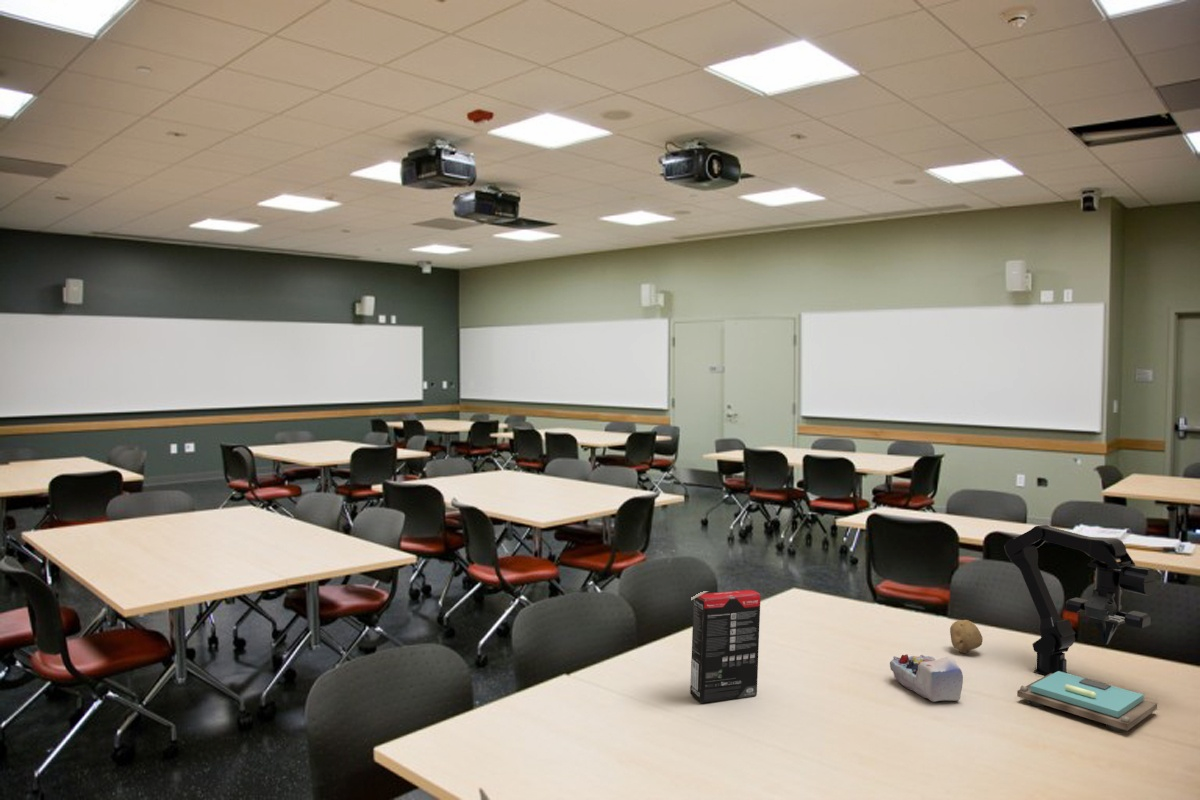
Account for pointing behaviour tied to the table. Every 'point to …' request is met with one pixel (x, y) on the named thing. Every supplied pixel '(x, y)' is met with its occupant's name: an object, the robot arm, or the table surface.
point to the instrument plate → (1098, 704)
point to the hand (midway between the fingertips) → (1105, 643)
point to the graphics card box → (725, 645)
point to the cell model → (929, 676)
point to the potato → (965, 636)
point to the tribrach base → (1111, 722)
